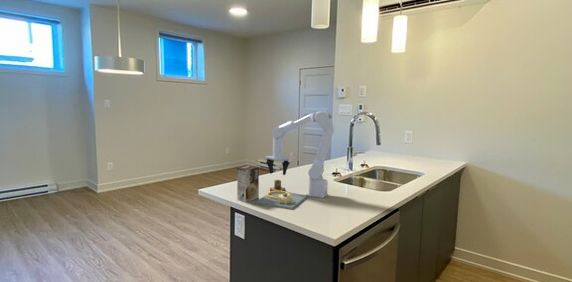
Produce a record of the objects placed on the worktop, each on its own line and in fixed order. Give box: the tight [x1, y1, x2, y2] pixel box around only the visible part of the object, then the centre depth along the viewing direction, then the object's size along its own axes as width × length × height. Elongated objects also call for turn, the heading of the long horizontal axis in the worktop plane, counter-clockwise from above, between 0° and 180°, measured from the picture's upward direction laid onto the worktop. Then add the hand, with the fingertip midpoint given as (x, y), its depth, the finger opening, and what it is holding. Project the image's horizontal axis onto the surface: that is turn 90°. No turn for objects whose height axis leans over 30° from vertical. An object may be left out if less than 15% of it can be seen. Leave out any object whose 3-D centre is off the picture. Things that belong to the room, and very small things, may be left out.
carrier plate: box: [254, 190, 307, 210], centre depth 153 cm, size 19×19×5 cm
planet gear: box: [269, 179, 286, 192], centre depth 170 cm, size 9×9×6 cm
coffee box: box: [236, 164, 260, 203], centre depth 154 cm, size 9×6×16 cm
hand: (277, 174), depth 170 cm, fingers open, 7 cm apart
